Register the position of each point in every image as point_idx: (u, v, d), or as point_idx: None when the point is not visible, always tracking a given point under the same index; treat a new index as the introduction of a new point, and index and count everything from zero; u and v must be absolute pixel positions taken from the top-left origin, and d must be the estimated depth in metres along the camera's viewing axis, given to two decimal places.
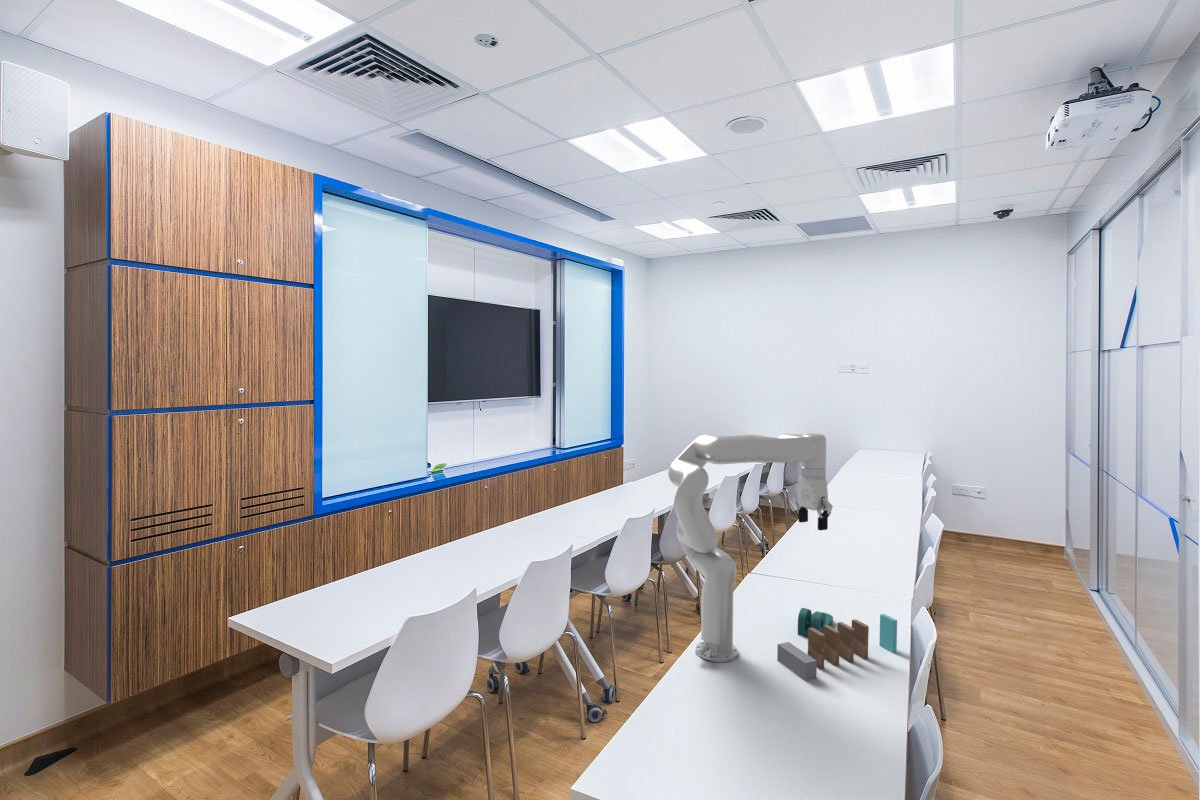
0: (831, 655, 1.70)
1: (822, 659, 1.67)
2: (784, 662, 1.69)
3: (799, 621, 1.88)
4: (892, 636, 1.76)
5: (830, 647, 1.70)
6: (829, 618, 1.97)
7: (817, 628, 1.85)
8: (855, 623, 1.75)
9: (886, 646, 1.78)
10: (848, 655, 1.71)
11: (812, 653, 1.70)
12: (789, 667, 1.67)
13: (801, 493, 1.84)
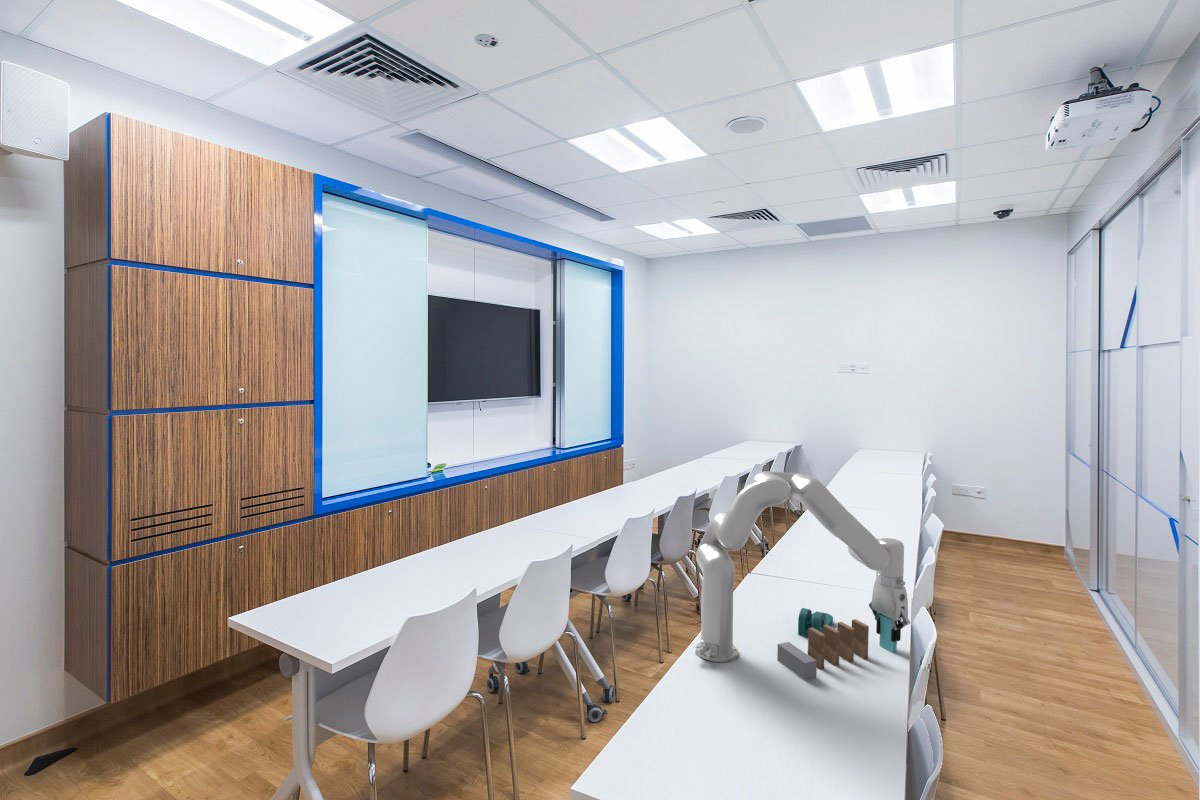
0: (831, 655, 1.70)
1: (822, 659, 1.67)
2: (784, 662, 1.69)
3: (799, 621, 1.88)
4: None
5: (830, 647, 1.70)
6: (829, 618, 1.96)
7: (817, 628, 1.85)
8: (855, 623, 1.75)
9: (886, 646, 1.78)
10: (848, 655, 1.71)
11: (812, 653, 1.70)
12: (789, 667, 1.67)
13: None
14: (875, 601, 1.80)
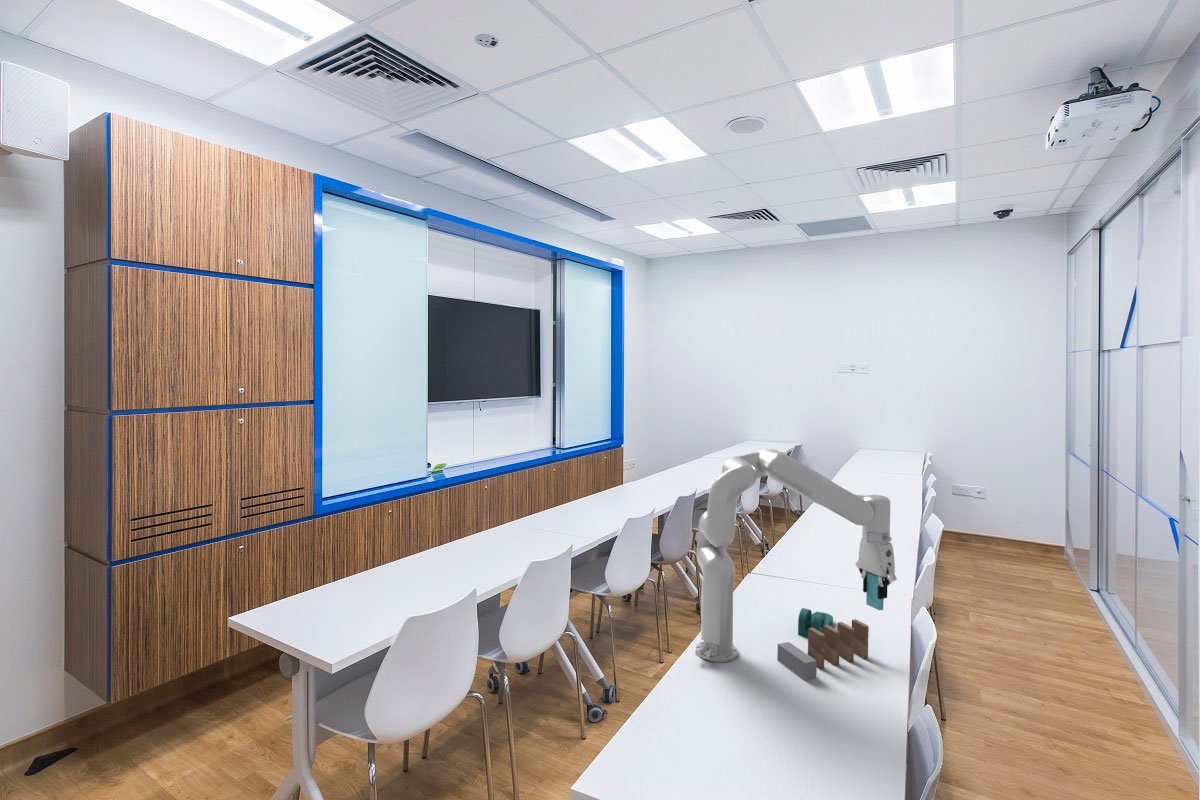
0: (831, 655, 1.70)
1: (822, 659, 1.67)
2: (784, 662, 1.69)
3: (799, 621, 1.88)
4: None
5: (830, 647, 1.70)
6: (829, 618, 1.96)
7: (817, 628, 1.84)
8: (855, 623, 1.75)
9: (873, 604, 1.76)
10: (848, 655, 1.71)
11: (812, 653, 1.70)
12: (789, 667, 1.67)
13: None
14: (861, 559, 1.78)
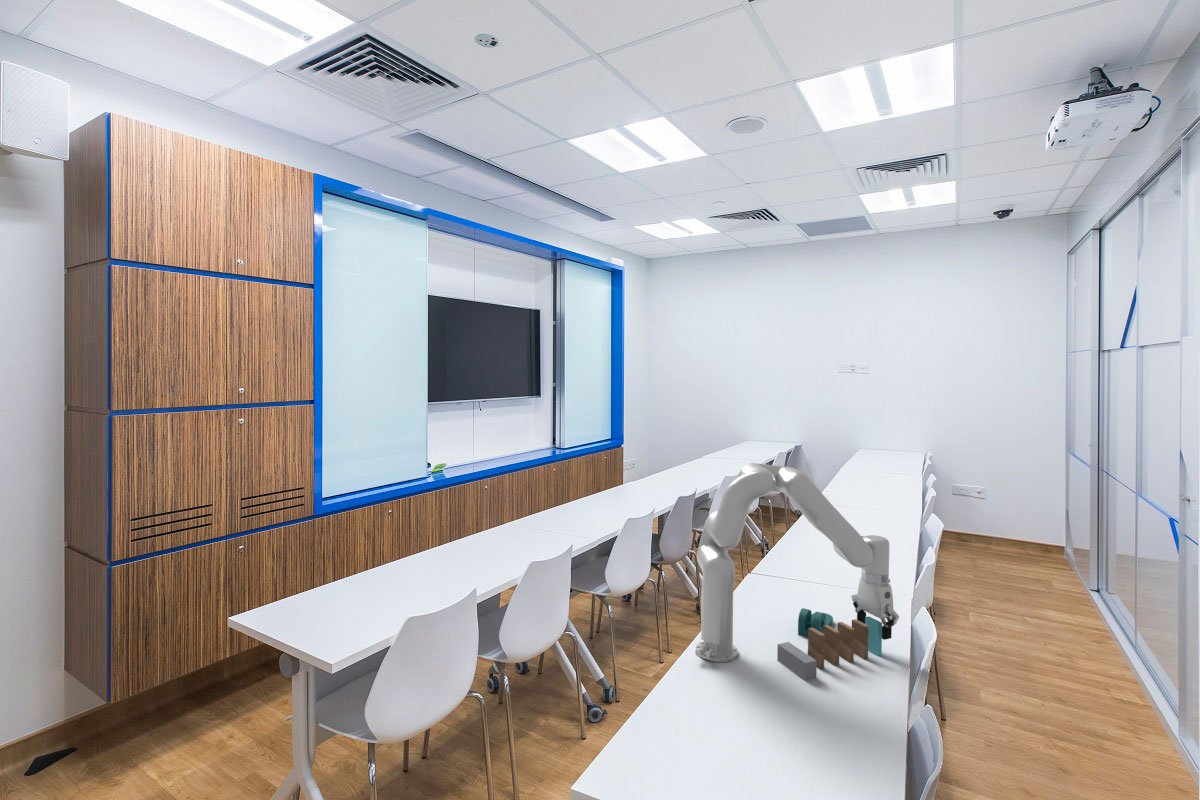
0: (831, 655, 1.70)
1: (822, 659, 1.67)
2: (784, 662, 1.69)
3: (799, 621, 1.88)
4: (877, 639, 1.74)
5: (830, 647, 1.70)
6: (829, 618, 1.96)
7: (817, 628, 1.84)
8: (855, 623, 1.75)
9: (871, 649, 1.76)
10: (848, 655, 1.71)
11: (812, 653, 1.70)
12: (789, 667, 1.67)
13: None
14: (860, 599, 1.78)
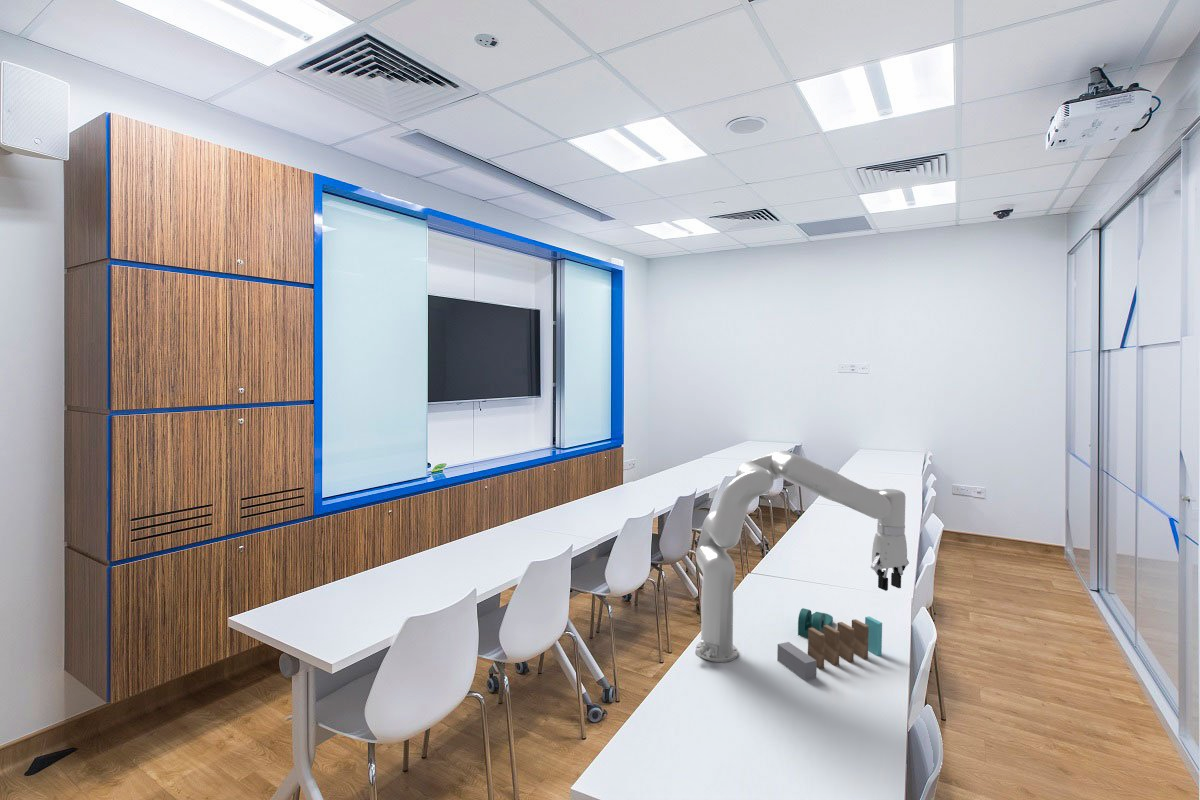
0: (831, 655, 1.70)
1: (822, 659, 1.67)
2: (784, 662, 1.69)
3: (799, 622, 1.88)
4: (877, 639, 1.74)
5: (830, 647, 1.70)
6: (828, 618, 1.96)
7: (817, 628, 1.84)
8: (855, 623, 1.75)
9: (871, 649, 1.76)
10: (848, 655, 1.71)
11: (812, 653, 1.70)
12: (789, 667, 1.67)
13: None
14: (888, 558, 1.74)
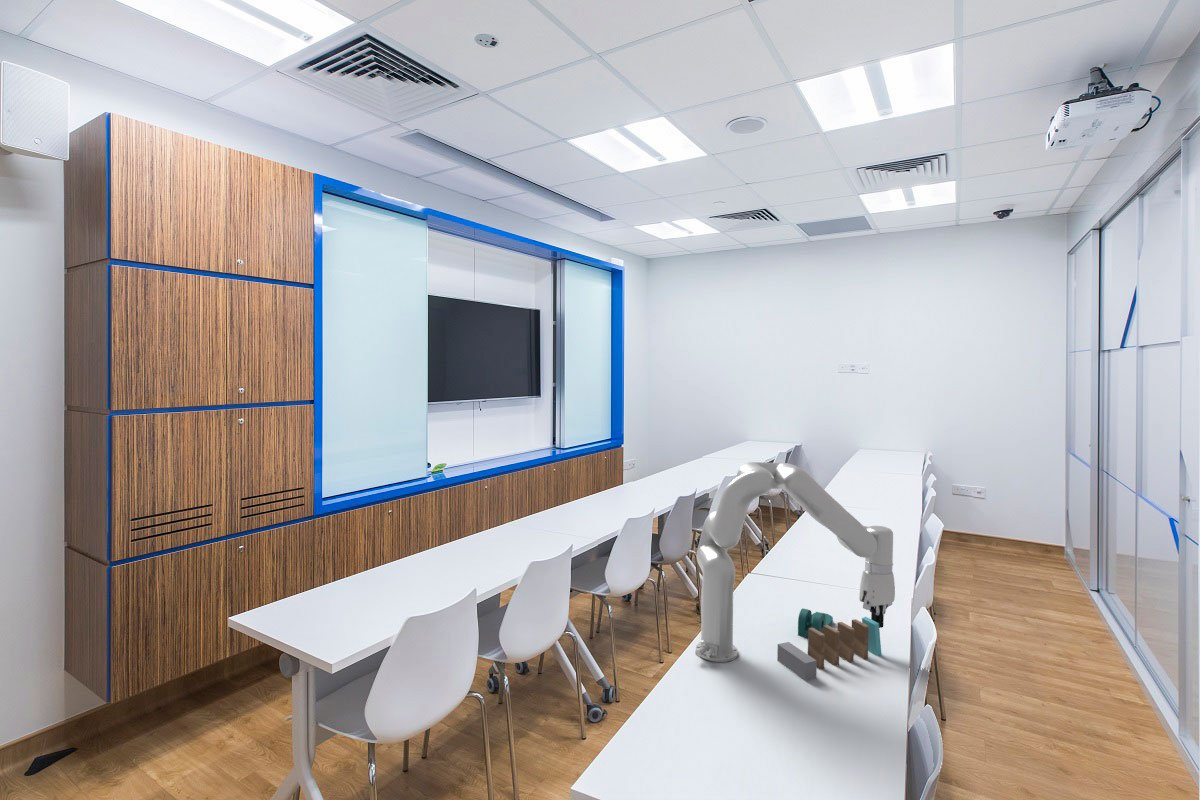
0: (831, 655, 1.70)
1: (822, 659, 1.67)
2: (784, 662, 1.69)
3: (799, 622, 1.88)
4: (875, 639, 1.74)
5: (830, 647, 1.70)
6: (828, 618, 1.96)
7: (817, 629, 1.84)
8: (855, 623, 1.75)
9: (871, 649, 1.76)
10: (848, 655, 1.71)
11: (812, 653, 1.70)
12: (789, 667, 1.67)
13: None
14: (876, 596, 1.73)
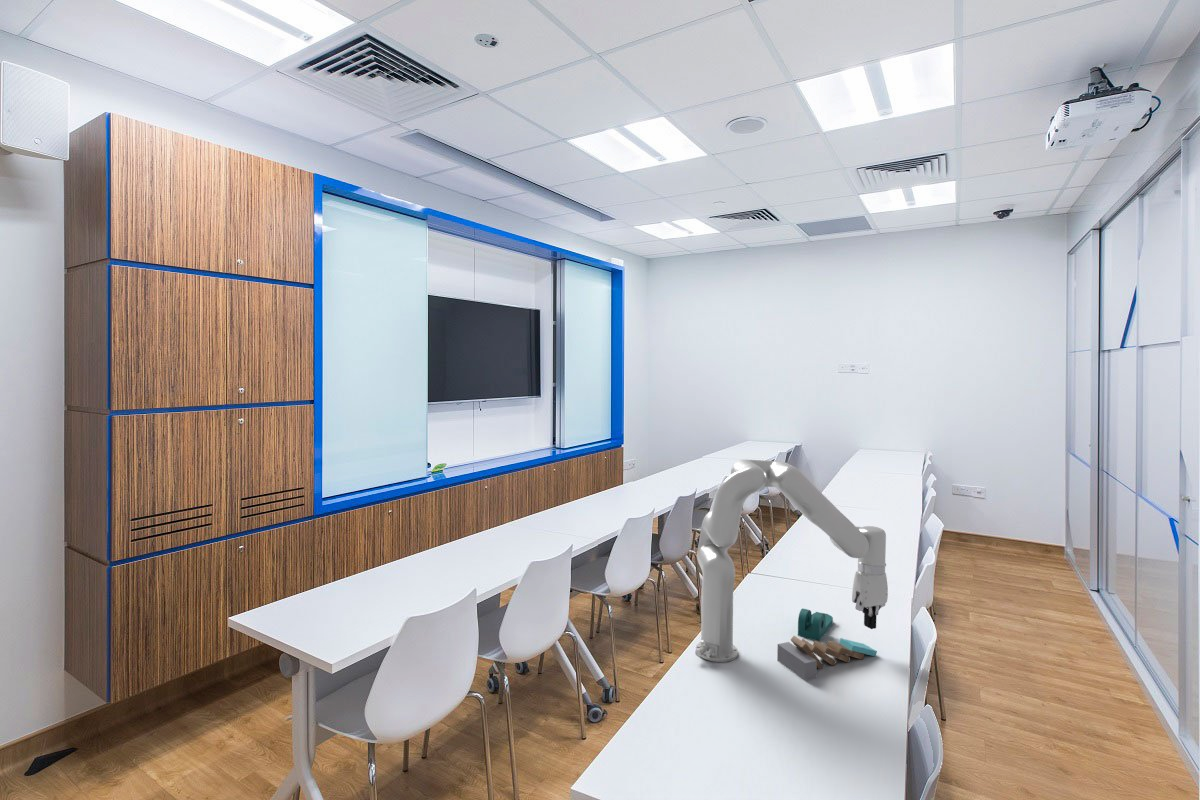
0: None
1: (817, 660, 1.66)
2: (784, 662, 1.69)
3: (799, 622, 1.88)
4: (863, 652, 1.73)
5: (819, 656, 1.69)
6: (828, 618, 1.96)
7: (817, 629, 1.84)
8: (831, 647, 1.72)
9: None
10: None
11: None
12: (789, 667, 1.67)
13: None
14: (868, 597, 1.72)
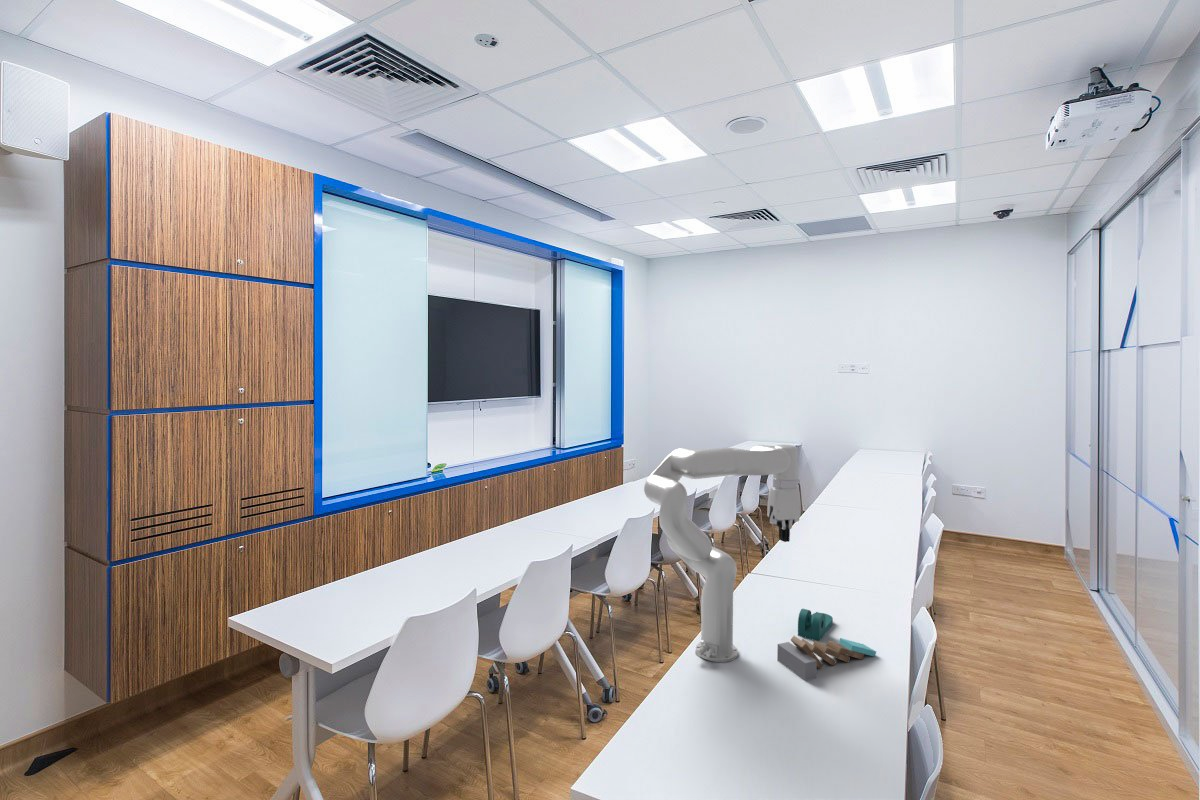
0: None
1: (817, 660, 1.66)
2: (784, 662, 1.69)
3: (799, 622, 1.88)
4: (862, 652, 1.73)
5: (819, 656, 1.69)
6: (828, 618, 1.96)
7: (817, 629, 1.84)
8: (831, 647, 1.72)
9: None
10: None
11: None
12: (789, 667, 1.67)
13: None
14: (781, 510, 1.81)
